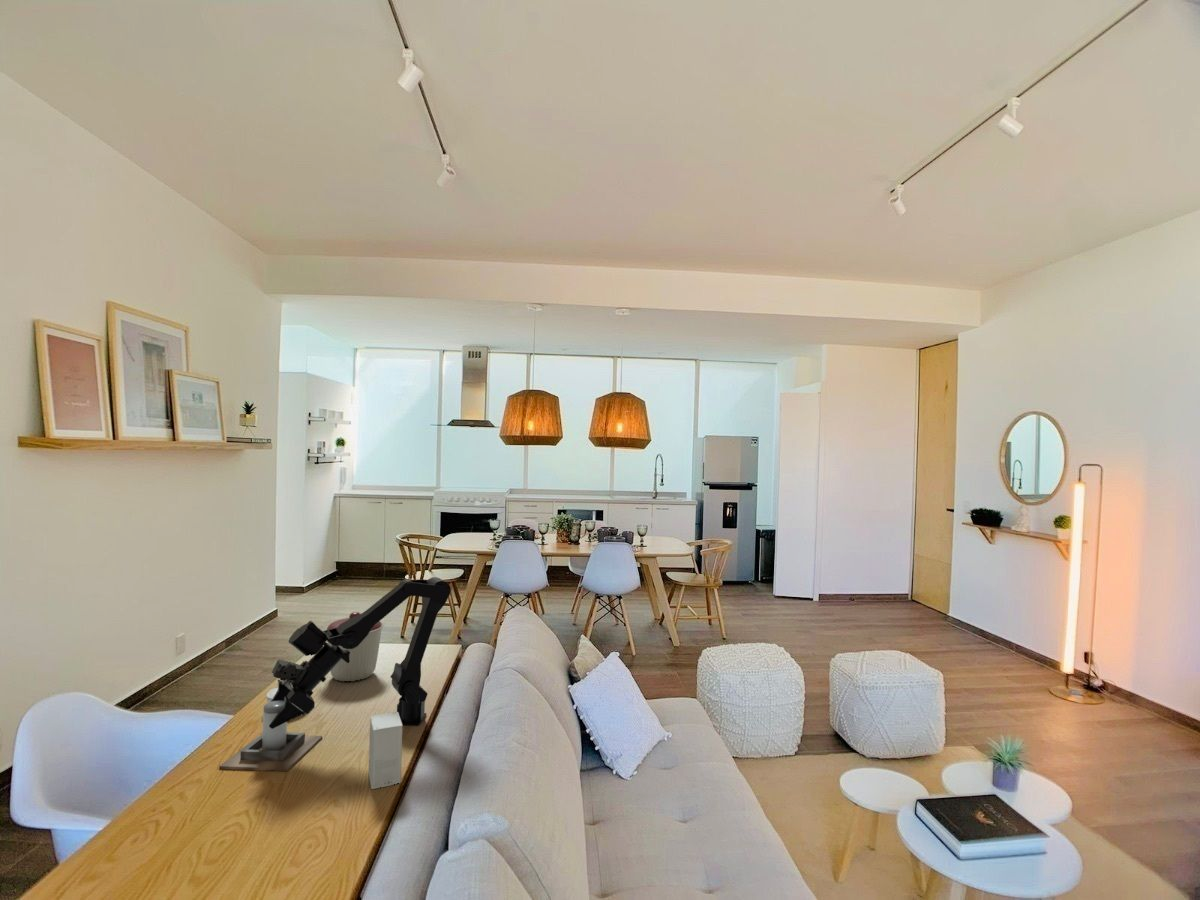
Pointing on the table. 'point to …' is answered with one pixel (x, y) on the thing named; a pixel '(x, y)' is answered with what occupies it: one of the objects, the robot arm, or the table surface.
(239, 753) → the jig board
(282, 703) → the grey cylinder
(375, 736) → the small box
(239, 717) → the table surface
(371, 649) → the canister
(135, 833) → the table surface
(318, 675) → the robot arm
